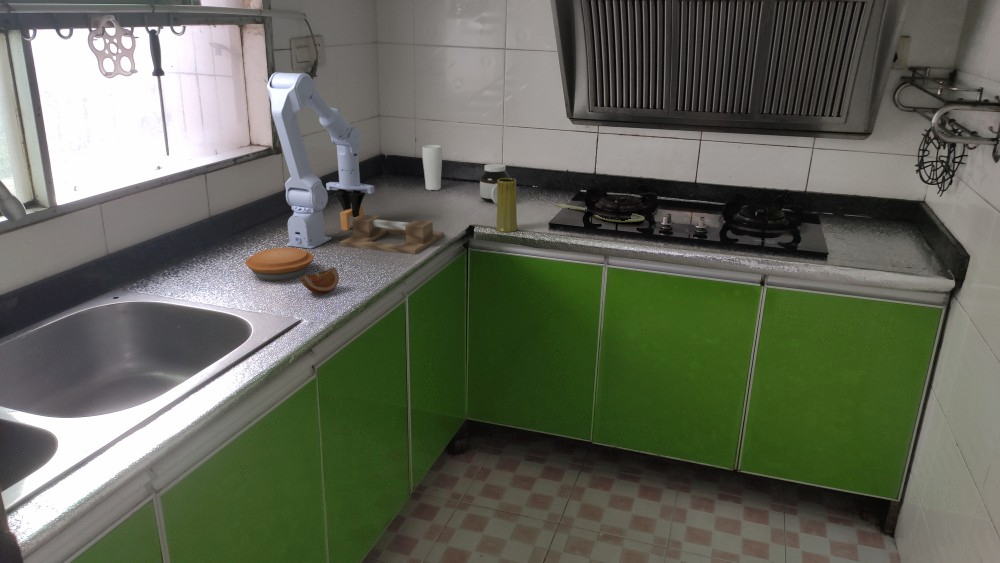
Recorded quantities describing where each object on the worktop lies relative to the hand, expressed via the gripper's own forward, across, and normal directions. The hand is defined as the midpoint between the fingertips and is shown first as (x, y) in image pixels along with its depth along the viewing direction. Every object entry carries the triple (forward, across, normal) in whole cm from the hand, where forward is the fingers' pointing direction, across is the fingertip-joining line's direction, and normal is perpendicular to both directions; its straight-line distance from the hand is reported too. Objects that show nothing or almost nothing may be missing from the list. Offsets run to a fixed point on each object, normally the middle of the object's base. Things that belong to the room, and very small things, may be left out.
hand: (352, 215), depth 213 cm
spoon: (+4, -63, -37) cm, 73 cm away
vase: (+3, -43, -12) cm, 45 cm away
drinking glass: (+3, -1, -52) cm, 52 cm away
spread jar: (+3, -29, -42) cm, 51 cm away
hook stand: (+3, -18, +9) cm, 20 cm away
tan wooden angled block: (+3, 0, 0) cm, 3 cm away
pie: (+3, -6, +42) cm, 43 cm away
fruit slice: (+3, -22, +50) cm, 55 cm away
